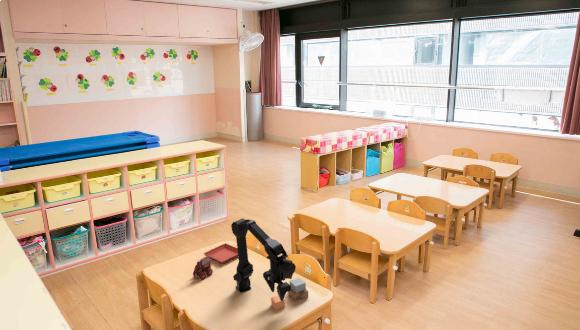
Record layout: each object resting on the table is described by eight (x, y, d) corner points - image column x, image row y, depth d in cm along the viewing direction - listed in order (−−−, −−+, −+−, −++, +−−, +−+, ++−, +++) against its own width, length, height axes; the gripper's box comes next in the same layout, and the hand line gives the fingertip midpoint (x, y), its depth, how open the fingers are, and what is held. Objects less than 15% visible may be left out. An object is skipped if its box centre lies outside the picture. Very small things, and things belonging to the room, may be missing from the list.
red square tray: (225, 247, 269) (225, 242, 268) (244, 255, 258) (244, 250, 257) (203, 258, 256) (203, 253, 255) (222, 267, 245) (221, 262, 244)
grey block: (295, 293, 208) (295, 286, 207) (289, 287, 213) (289, 281, 212) (305, 289, 211) (305, 282, 210) (299, 284, 216) (299, 277, 215)
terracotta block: (276, 310, 202) (275, 302, 201) (271, 304, 206) (271, 297, 205) (284, 306, 204) (284, 299, 203) (280, 301, 208) (279, 294, 207)
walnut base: (294, 301, 208) (293, 294, 207) (288, 293, 215) (287, 286, 214) (308, 297, 211) (308, 290, 210) (302, 289, 218) (301, 283, 217)
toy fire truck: (190, 278, 232) (188, 262, 230) (207, 269, 242) (205, 253, 239) (198, 282, 228) (196, 265, 226) (215, 272, 238) (213, 256, 235)
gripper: (300, 271, 196) (301, 300, 200) (281, 255, 211) (282, 282, 215) (280, 278, 190) (281, 307, 194) (261, 262, 206) (263, 289, 210)
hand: (277, 296), depth 204 cm, fingers open, 9 cm apart
